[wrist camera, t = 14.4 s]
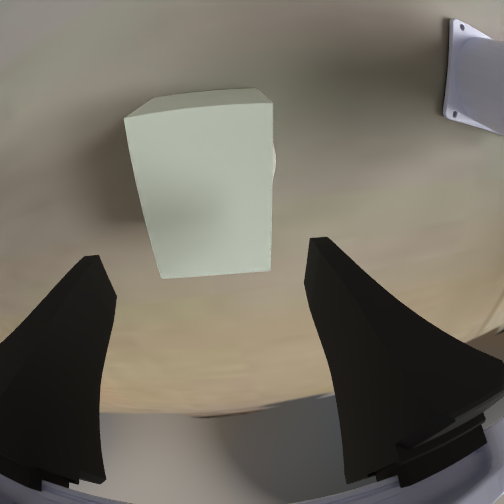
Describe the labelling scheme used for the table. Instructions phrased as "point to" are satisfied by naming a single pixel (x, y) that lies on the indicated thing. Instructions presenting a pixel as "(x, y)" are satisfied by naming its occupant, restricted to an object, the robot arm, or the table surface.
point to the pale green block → (205, 180)
